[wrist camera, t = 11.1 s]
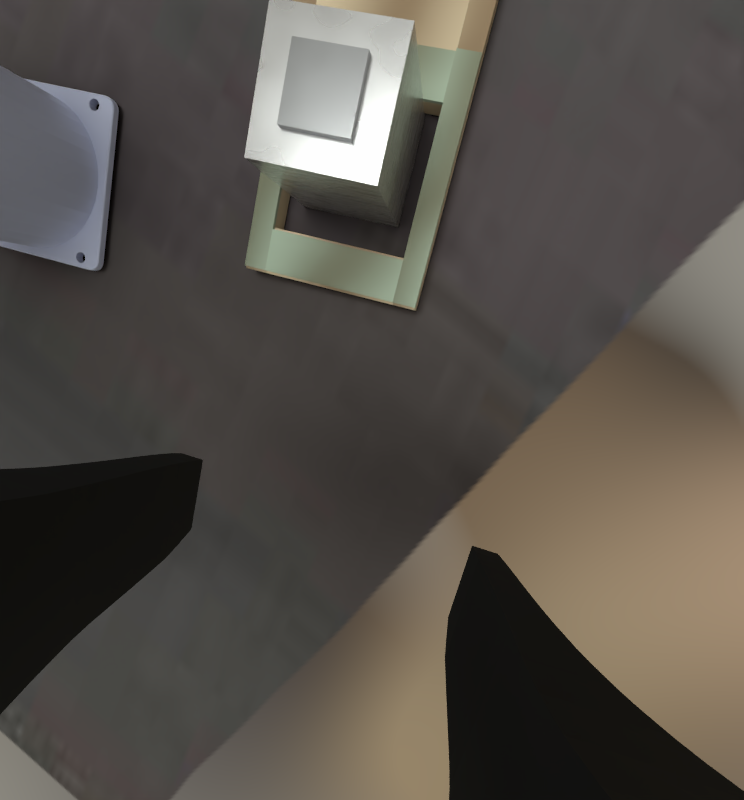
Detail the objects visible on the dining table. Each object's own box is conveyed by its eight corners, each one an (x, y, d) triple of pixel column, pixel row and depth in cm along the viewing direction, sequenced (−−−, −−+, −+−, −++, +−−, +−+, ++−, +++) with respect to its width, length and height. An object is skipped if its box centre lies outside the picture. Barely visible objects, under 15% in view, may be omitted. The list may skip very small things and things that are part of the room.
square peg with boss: (304, 206, 19) (240, 153, 13) (325, 99, 18) (265, -11, 12) (398, 227, 19) (375, 182, 13) (424, 118, 18) (413, 13, 12)
